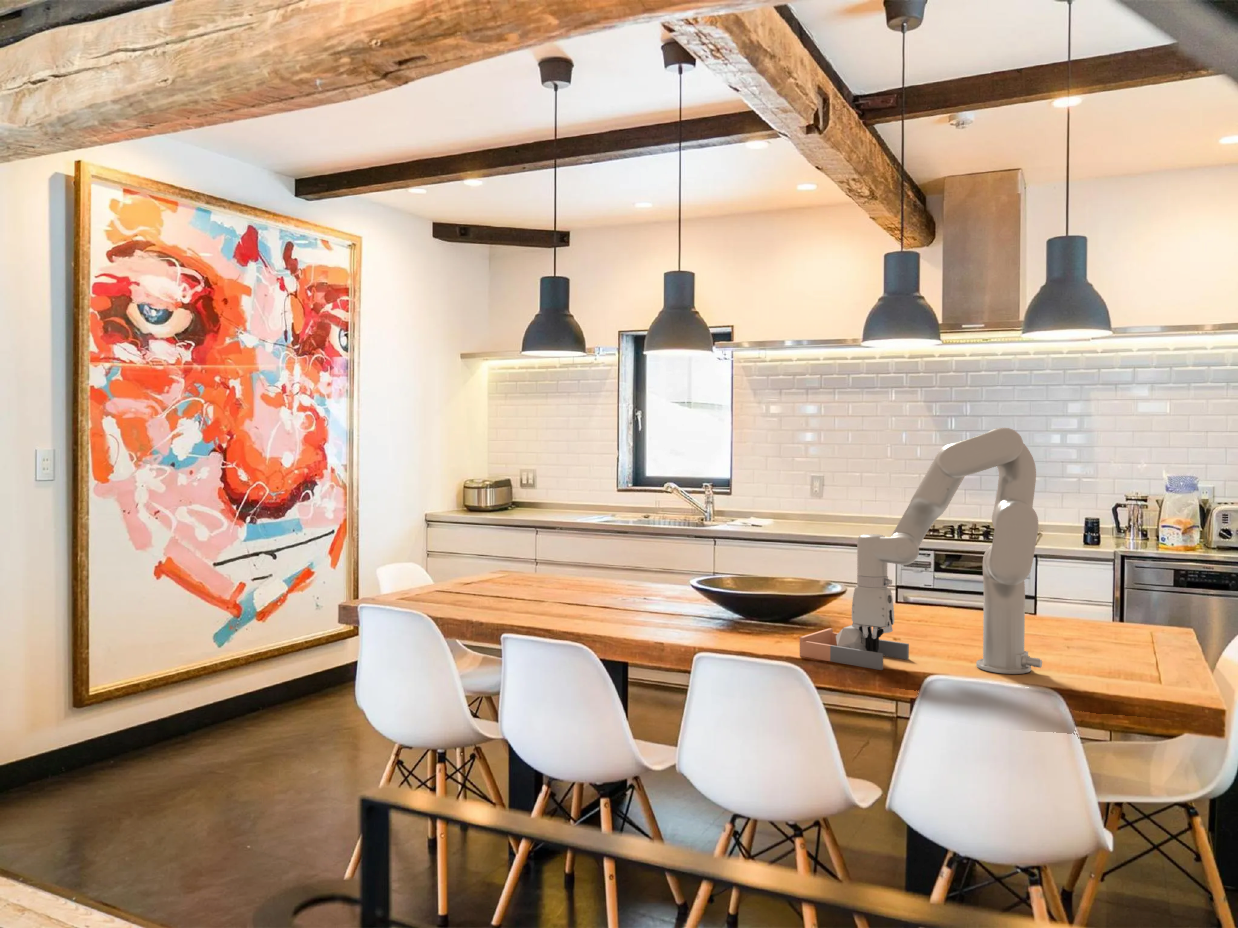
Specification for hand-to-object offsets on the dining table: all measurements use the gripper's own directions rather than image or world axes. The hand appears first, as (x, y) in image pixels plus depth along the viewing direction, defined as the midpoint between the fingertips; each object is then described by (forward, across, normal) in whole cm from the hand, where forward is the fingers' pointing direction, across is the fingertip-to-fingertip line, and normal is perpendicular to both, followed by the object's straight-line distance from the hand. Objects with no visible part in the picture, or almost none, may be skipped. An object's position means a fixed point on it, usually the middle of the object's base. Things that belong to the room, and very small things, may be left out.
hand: (872, 652), depth 235 cm
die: (+2, +6, -1) cm, 7 cm away
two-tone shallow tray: (+2, +5, 0) cm, 5 cm away
